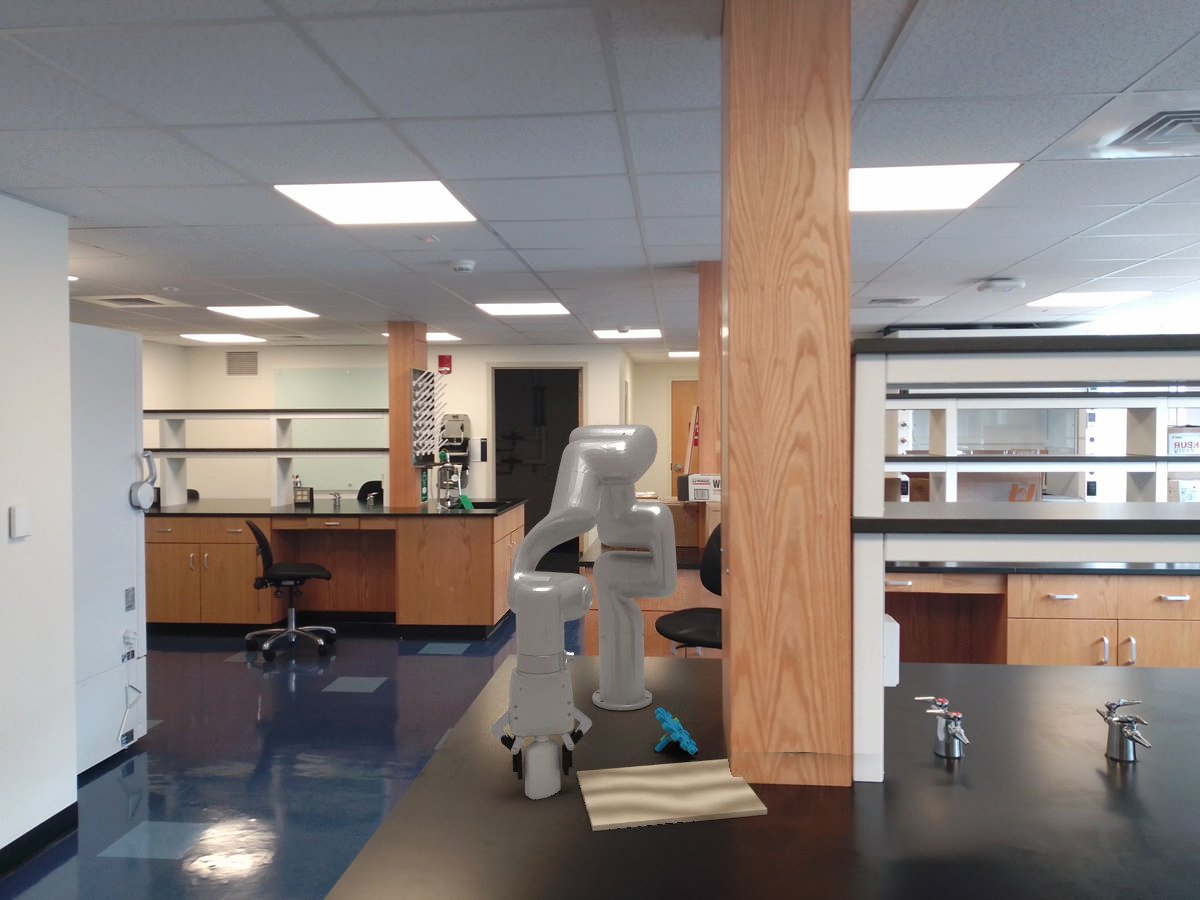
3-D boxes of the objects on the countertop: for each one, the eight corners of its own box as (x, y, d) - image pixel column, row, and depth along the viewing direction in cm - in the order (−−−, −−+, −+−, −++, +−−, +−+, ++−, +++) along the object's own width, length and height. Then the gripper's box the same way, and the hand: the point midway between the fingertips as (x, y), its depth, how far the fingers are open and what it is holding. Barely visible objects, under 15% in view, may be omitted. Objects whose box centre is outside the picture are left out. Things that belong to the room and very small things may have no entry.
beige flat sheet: (576, 776, 129) (576, 771, 129) (728, 763, 133) (728, 758, 133) (592, 831, 111) (592, 825, 111) (767, 814, 115) (767, 809, 115)
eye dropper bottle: (524, 788, 125) (523, 713, 125) (559, 786, 126) (558, 711, 125) (525, 801, 121) (524, 724, 120) (561, 798, 121) (560, 721, 121)
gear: (699, 756, 132) (657, 711, 134) (675, 780, 133) (633, 735, 134) (701, 739, 143) (662, 698, 145) (678, 762, 143) (640, 720, 145)
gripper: (592, 651, 128) (593, 759, 128) (484, 657, 125) (486, 768, 125) (599, 664, 120) (600, 780, 121) (485, 671, 118) (487, 789, 118)
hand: (542, 773), depth 123 cm, fingers open, 6 cm apart
